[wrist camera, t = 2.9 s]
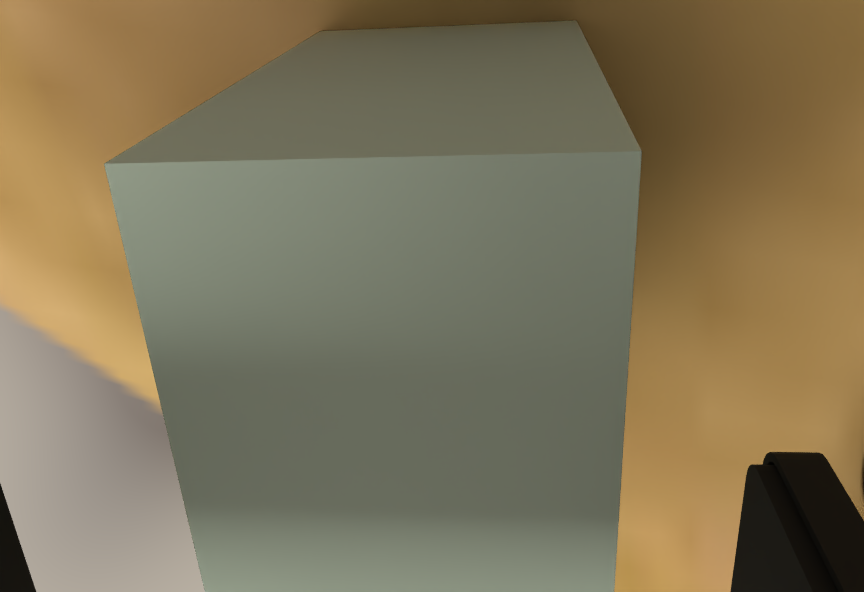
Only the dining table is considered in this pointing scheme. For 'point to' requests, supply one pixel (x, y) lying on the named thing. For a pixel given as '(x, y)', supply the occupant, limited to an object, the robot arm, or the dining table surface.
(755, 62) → the dining table surface
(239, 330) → the grey-green rectangular block
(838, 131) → the dining table surface
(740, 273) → the dining table surface
